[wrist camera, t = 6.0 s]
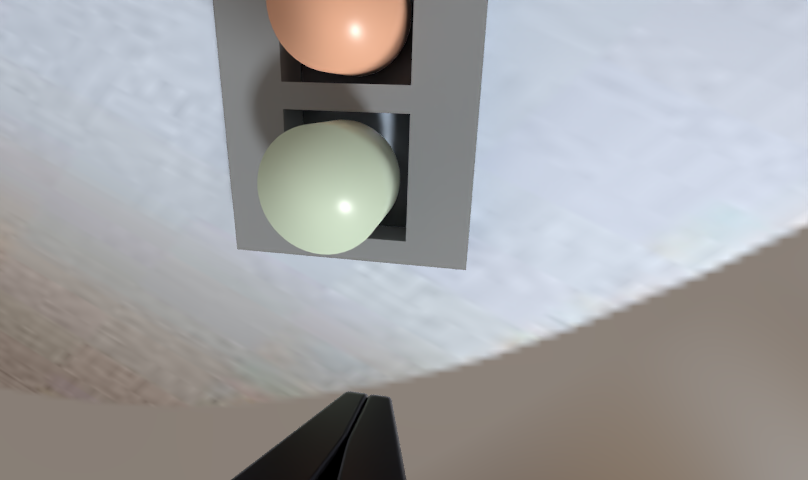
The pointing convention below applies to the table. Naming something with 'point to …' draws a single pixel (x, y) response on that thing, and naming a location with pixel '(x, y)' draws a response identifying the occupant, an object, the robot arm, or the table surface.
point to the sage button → (328, 184)
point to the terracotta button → (342, 32)
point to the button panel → (424, 100)
